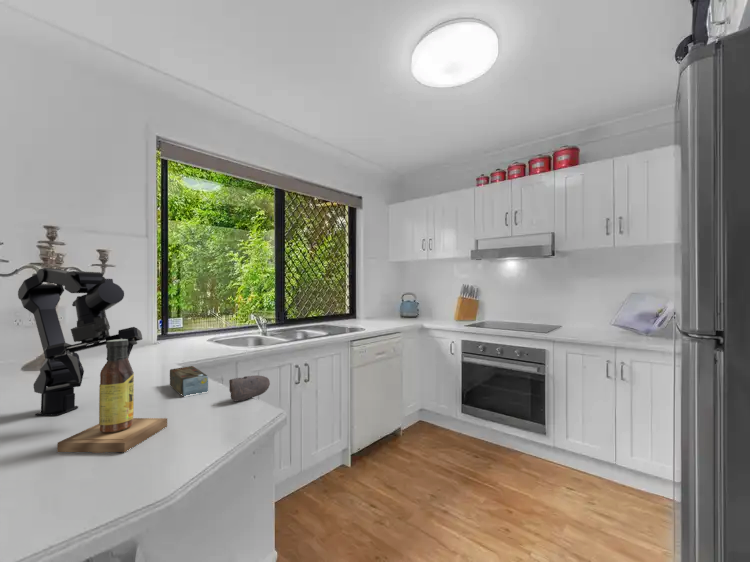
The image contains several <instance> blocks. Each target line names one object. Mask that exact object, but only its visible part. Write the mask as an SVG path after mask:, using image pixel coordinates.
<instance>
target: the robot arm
mask: <svg viewBox="0 0 750 562" xmlns="http://www.w3.org/2000/svg"><path fill="white" fill-rule="evenodd" d="M65 290H66V291H67V292H69V293H71V294H83V295H80V296H79V295H78V296H76V299H75V300H74V301H72V304H71V305H72V307H75V311H76V317H77V320H76V326H75V327H73V328H70V333H71V335H72V339H73V343H74V344H70V343H68V342H66V339H65V337H64V334H63V328H62V326H61V322H60V319H59V315H58V313H57V308H56V307H57V305H58V304H59V302H60V300H61V296H62V295H63V293H64V292H65ZM124 297H125V291H124V290H123V288H122V287H121V286H120V285H119V284H117V283H114V279H113V278H105V276H104V274H103V273H102V272H99V271H98V272H97V271H78V270H71V271H68V270H64V269H61V268H50V267H43V268H40V269H39V270H38V271H37V273H36V274H33V275H32V276H29V277H28V278H27V279H25V280H23V282H22V283H21V285H20V287H19V288H18V291H17V298H18V299H19V300H20V301H21V304H22V307H23V308H24V309H25V310H26V311H28V312H29V313H31V314H33V317H34V321H35V325H36V328H37V332H38V335H39V336H38V337H39V339H40V343H41V346H42V350H43V354H44V358H45V359H44V361H43V363H42V364H41V366H40V368H39V374H38V376H37V378H36V379H35V381H34V382H33V390H34V391H33V392H34V393H38V394H41V398H40V400H41V401H40V411H39V412H35V413H34V416H60V415H62V414H65V413H69V412H70V411H73V410H74V411H75V410H76V409H79V405H76V403H75V401H76V400H75V399H76V393H75V388H79V387H81V386H82V383H83V377H84V373H85V369H84V367H83V364H82V362H81V360H80V356H79V354H78V353H77V352H79V351H80V352H81V351H84V350H89V349H93V348H97V347H101V346H106V341H109V340H118V339H128V346H127V356H128V359H129V358H130V354H131V353H132V350H133V347H134V346H135V345H137V344H138V342H139V341H141V340H143V335H142V331H141V330H140V329H138V327H135V326H132V327H131V326H130V327H127V328H122V329H118V333H117V334H113V335H110V329H111V326H110V322H109V321H108V318H107V313H106V311H107V310H109V309H110V308H112V307H114V306H115V305H117V304H118V303H120V302H122V300H123V299H124ZM76 342H78V343H76Z"/></svg>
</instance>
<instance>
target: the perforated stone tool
mask: <svg viewBox="0 0 750 562" xmlns="http://www.w3.org/2000/svg"><path fill="white" fill-rule="evenodd" d="M228 381H229V383H228V384H229V392H230V398H231V400H232V402H240V401H245V400H249V399H248V398H250V397H252V398H250V399H253V398H255V397H258V396H261V395H263V394H264V393H266V392H267V391H268V390H269V388H270V385H271V381H270V379H269V378H268V377H267V376H264V375H255V374H254V375H247V376H243V377H235V378H230V379H229V380H228Z"/></svg>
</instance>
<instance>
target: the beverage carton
mask: <svg viewBox="0 0 750 562" xmlns="http://www.w3.org/2000/svg"><path fill="white" fill-rule="evenodd" d="M169 385H171V386H172V387H173V388H172V387H171V386H170V387H171V388H172V389H173V390H174V391H176V392H177V393H178V392H179V393H180V394H182V395H183V396H186V395H190V394H196V393H202V392H207V391H208V392H209V376H208V374H206V373H204V372H203V371H201V370H200V369H198V368H196V367H195V366H194V365H190V366H185V367H184V366H183V367H177V368H171V369H170V370H169ZM179 393H178V394H179ZM180 394H179V395H180ZM183 396H182V397H183Z"/></svg>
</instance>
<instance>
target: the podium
mask: <svg viewBox="0 0 750 562" xmlns="http://www.w3.org/2000/svg"><path fill="white" fill-rule="evenodd" d="M132 420H133V423H132V425H131V426H130V427H129V428H127V429H125V430H122V431H117V432H112V433H103V432H101V431H100V425H99V423H97V424H95V425H93V426H90V427H89V428H86V429H84V430H82V431H79V432H78V433H75V434H73V435H71V436H69V437H66V438H65V439H63V440H60V441H58V442H57V445H56V446H57V448H56V449H57V450H56V451H57V452H92V453H91V454H93V453H94V454H96V453H97V454H106V453H105V452H125V453H127V452H128V451H130V450H131V449H130V448H132V447H133V448H135V447H136V446H135V445H137V444H138V445H140V444H142V443H143V442H145V441H146V440H148V439H149V437H150V438H151V437H153V436H155V435H156V434H158V433H159V432H160V430H161V431H163V430H164V429H166V428H167V427H168V418H167V417H164V418H163V417H159V418H158V417H156V418H155V417H154V418H153V417H152V418H151V417H150V418H149V417H143V418H142V417H141V418H140V417H138V418H137V417H133V419H132ZM165 427H166V428H165ZM163 428H164V429H163ZM162 429H163V430H162ZM157 432H158V433H157ZM155 433H156V434H155ZM152 435H153V436H152ZM147 438H148V439H147ZM144 440H145V441H144ZM142 441H143V442H142ZM139 443H140V444H139ZM138 445H137V446H138ZM134 446H135V447H134ZM133 448H132V449H133ZM129 449H130V450H129ZM127 450H128V451H127ZM126 451H127V452H126ZM103 452H104V453H103Z"/></svg>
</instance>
